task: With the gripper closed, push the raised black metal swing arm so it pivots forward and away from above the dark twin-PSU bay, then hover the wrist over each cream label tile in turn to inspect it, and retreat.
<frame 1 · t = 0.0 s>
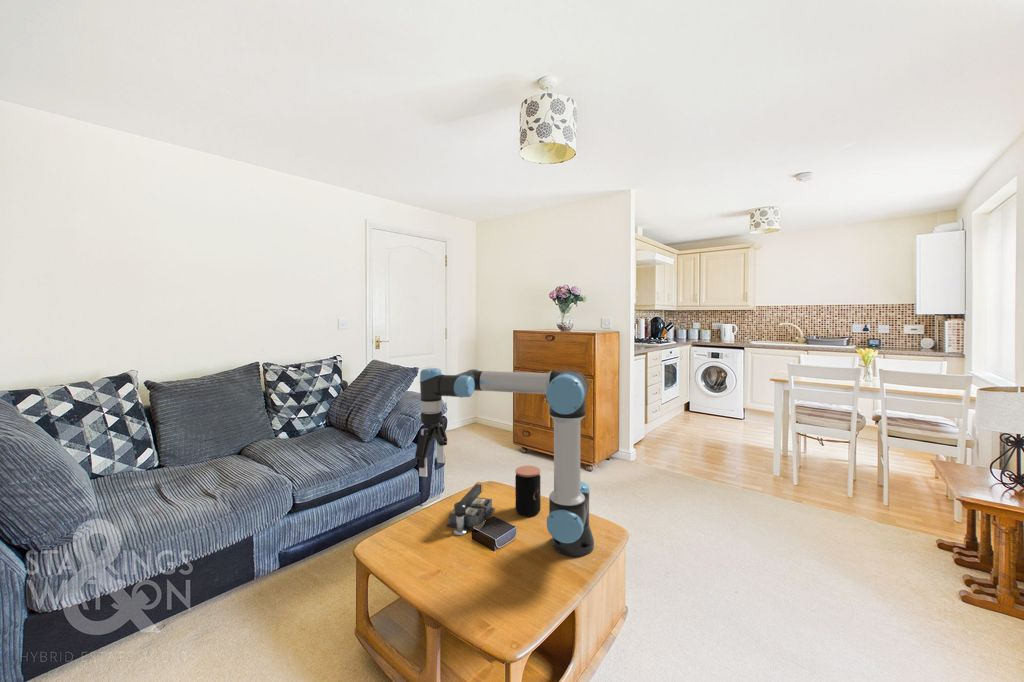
hand: (432, 469, 149), 28 cm above the table, fingers open, 13 cm apart
coffee jar: (528, 511, 174), on the table
pivot post: (460, 532, 158), on the table
psu bay: (471, 518, 169), on the table
swing arm: (469, 498, 167), point 9 cm above the table, hinge at 0.0°
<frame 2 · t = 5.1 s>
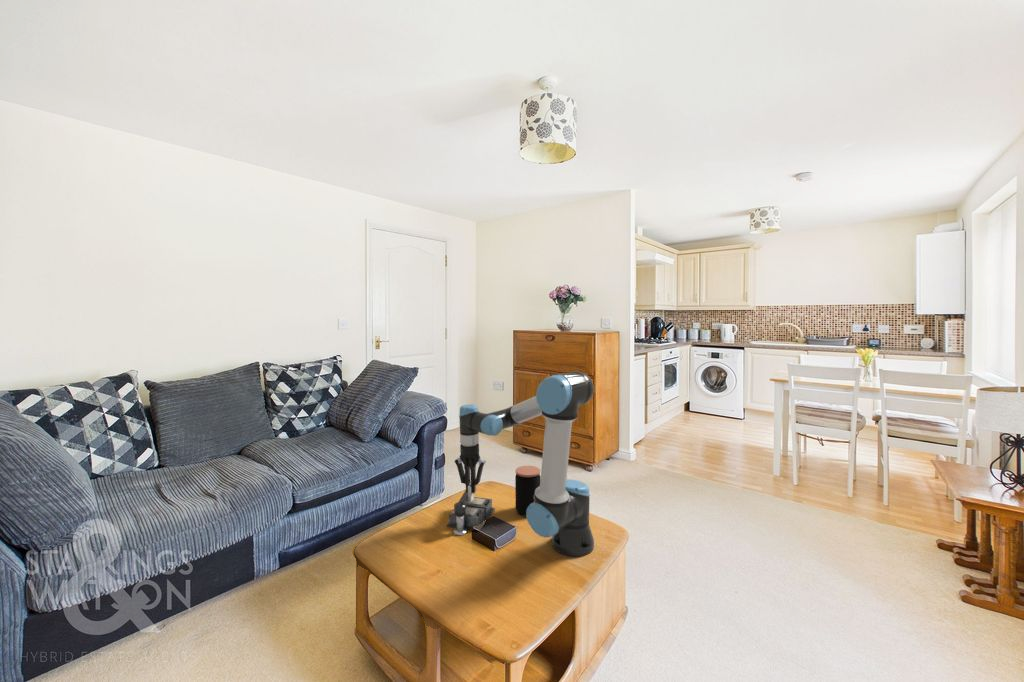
hand: (470, 500, 166), 9 cm above the table, fingers closed
swing arm: (466, 497, 167), point 9 cm above the table, hinge at 8.2°, touching gripper
everything else where it was.
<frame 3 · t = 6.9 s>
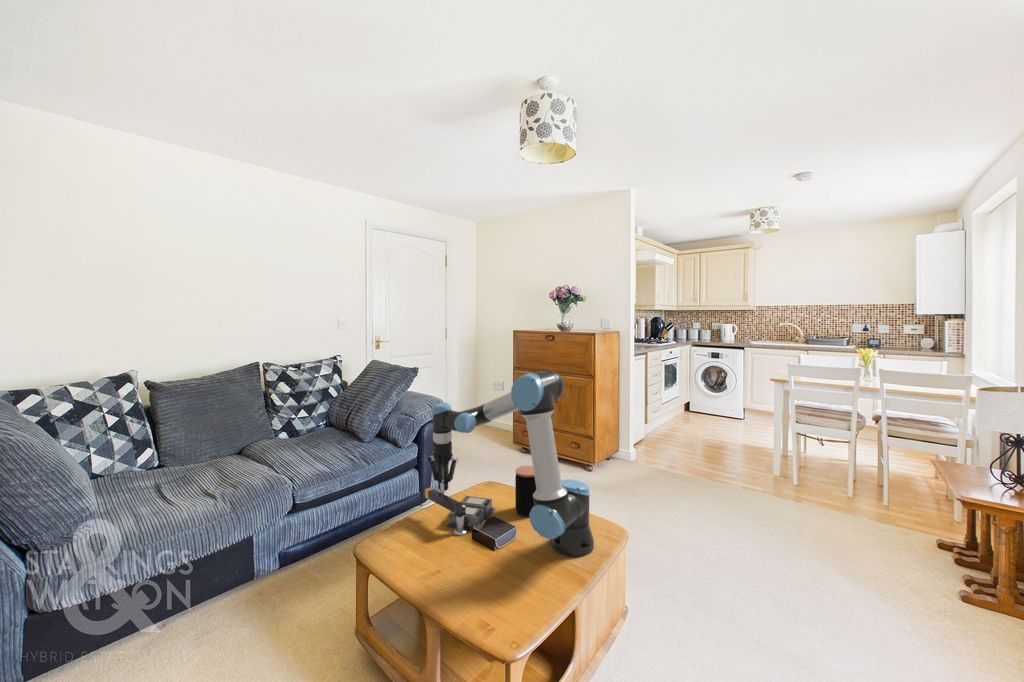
hand: (443, 497, 169), 9 cm above the table, fingers closed
swing arm: (444, 501, 164), point 9 cm above the table, hinge at 62.6°, touching gripper
everything else where it was.
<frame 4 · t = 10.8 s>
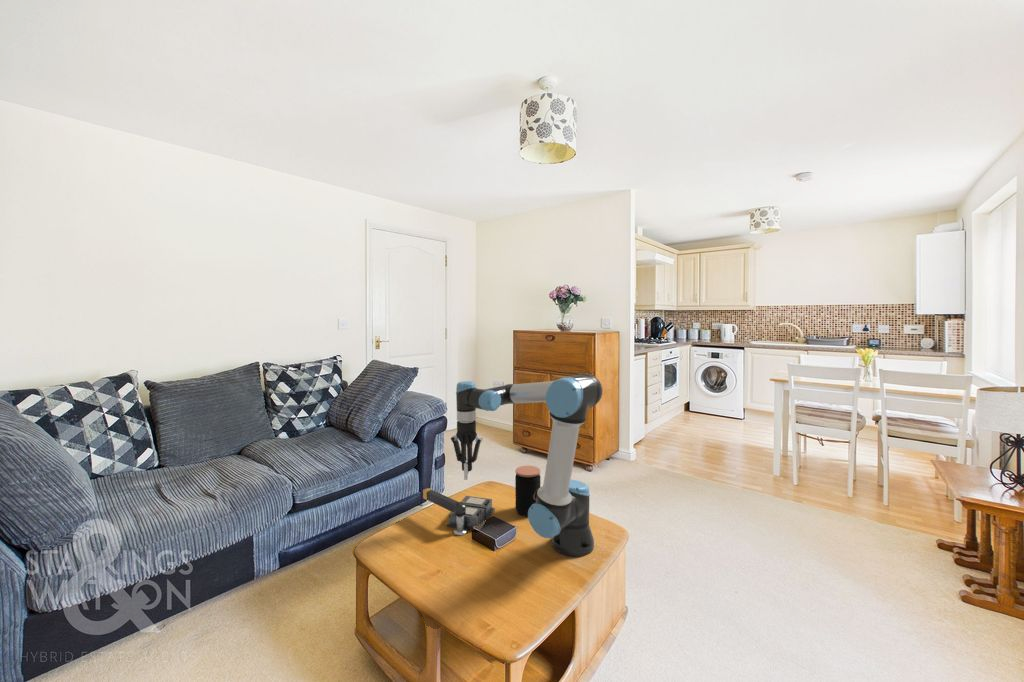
hand: (467, 478, 164), 18 cm above the table, fingers closed
swing arm: (444, 501, 164), point 9 cm above the table, hinge at 65.2°
everything else where it was.
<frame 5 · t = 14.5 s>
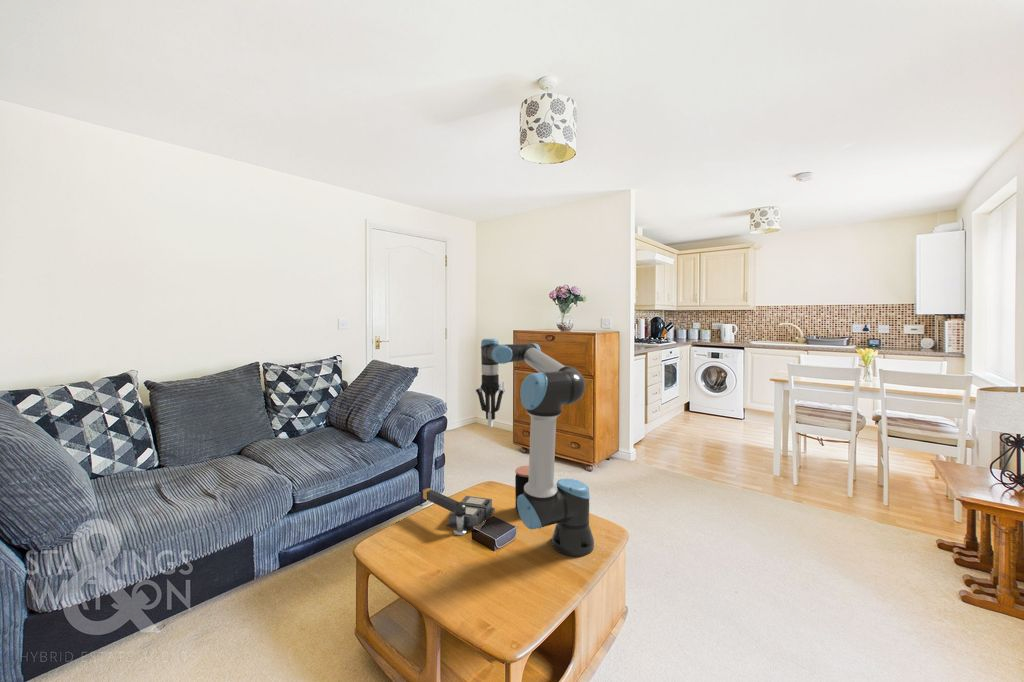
hand: (490, 426, 181), 34 cm above the table, fingers closed
nothing on the table moved.
at the end: swing arm at +65° (first picture: +0°) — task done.
